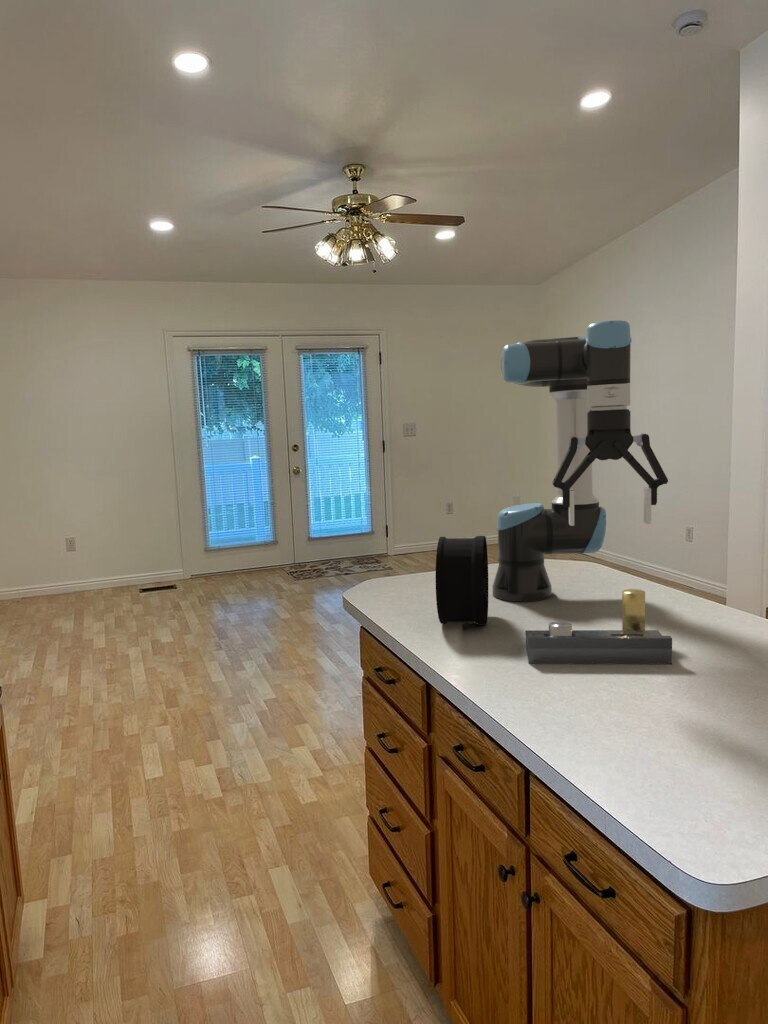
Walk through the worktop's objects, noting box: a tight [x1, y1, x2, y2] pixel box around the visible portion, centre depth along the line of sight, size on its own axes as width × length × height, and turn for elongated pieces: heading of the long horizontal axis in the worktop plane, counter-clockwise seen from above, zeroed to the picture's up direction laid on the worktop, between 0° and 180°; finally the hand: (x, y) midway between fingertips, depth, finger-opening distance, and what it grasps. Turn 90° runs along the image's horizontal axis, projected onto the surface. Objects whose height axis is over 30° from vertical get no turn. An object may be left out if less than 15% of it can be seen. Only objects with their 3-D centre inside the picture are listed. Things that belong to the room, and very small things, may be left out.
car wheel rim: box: [435, 535, 489, 625], centre depth 160 cm, size 20×10×20 cm, turn 168°
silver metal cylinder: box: [548, 620, 573, 636], centre depth 138 cm, size 4×4×6 cm
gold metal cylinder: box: [621, 588, 646, 630], centre depth 144 cm, size 4×4×10 cm
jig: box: [524, 629, 673, 665], centre depth 137 cm, size 11×26×5 cm, turn 81°
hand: (609, 523), depth 131 cm, fingers open, 13 cm apart
